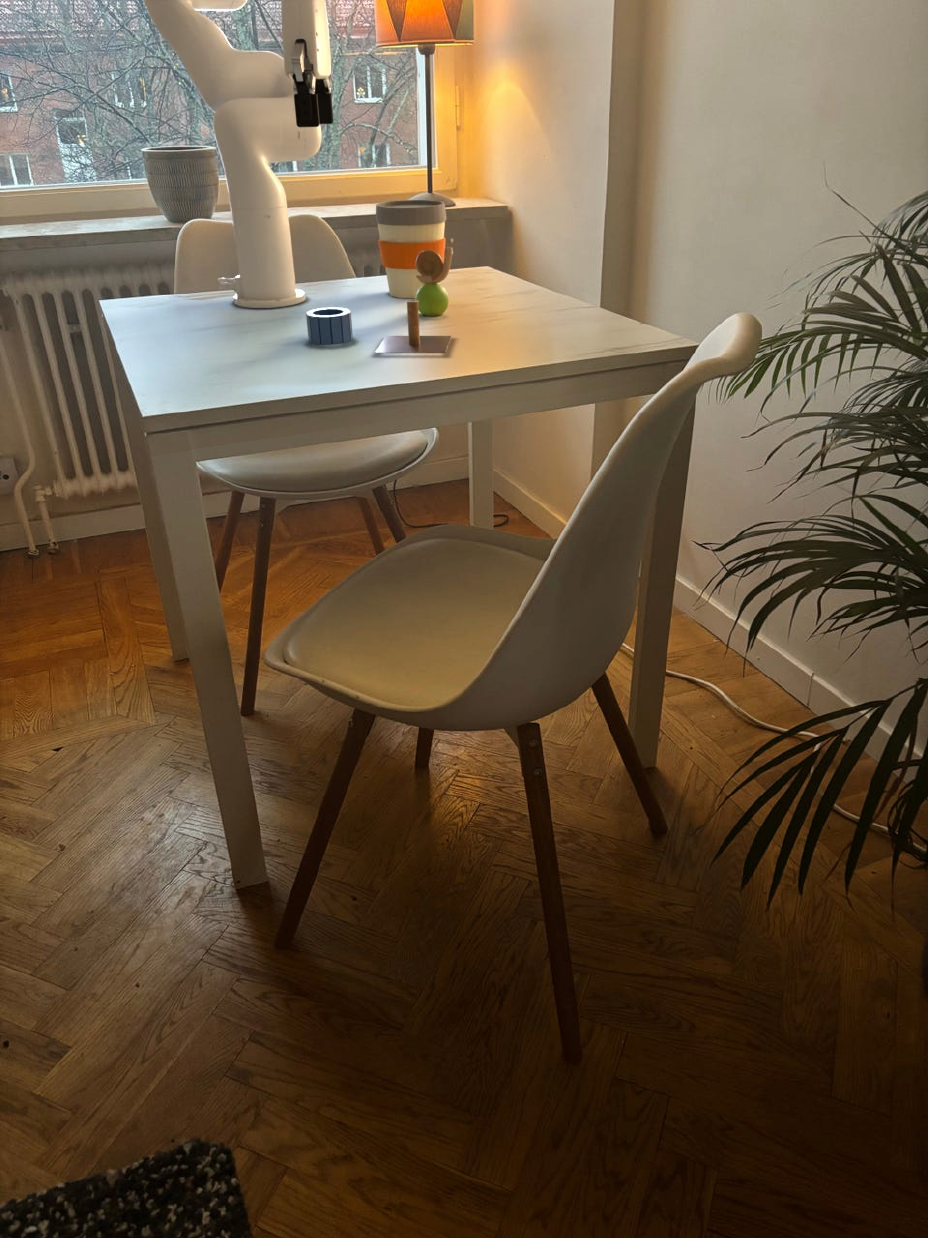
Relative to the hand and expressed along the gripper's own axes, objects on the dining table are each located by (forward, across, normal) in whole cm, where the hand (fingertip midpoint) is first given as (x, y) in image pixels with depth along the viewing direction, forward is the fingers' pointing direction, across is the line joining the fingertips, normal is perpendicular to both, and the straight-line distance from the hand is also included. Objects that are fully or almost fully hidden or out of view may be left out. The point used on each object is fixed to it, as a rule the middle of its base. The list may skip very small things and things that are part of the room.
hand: (315, 125), depth 136 cm
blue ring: (+28, +12, +2) cm, 31 cm away
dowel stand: (+28, +15, +15) cm, 35 cm away
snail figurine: (+28, -5, +16) cm, 33 cm away
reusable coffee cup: (+28, -25, +10) cm, 39 cm away
